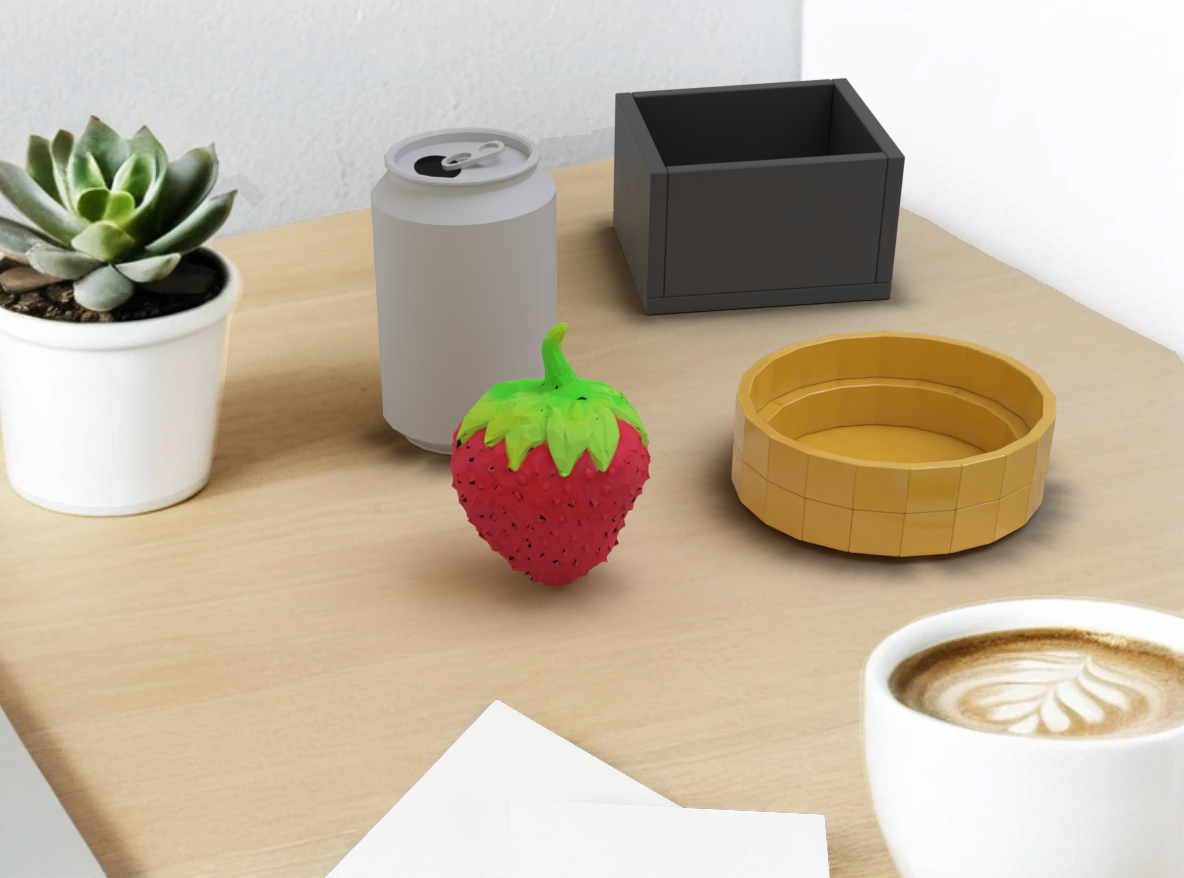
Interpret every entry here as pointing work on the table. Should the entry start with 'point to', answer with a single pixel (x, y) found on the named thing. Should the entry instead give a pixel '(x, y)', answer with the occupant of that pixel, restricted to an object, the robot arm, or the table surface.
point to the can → (460, 274)
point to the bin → (755, 196)
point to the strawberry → (550, 468)
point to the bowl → (892, 442)
